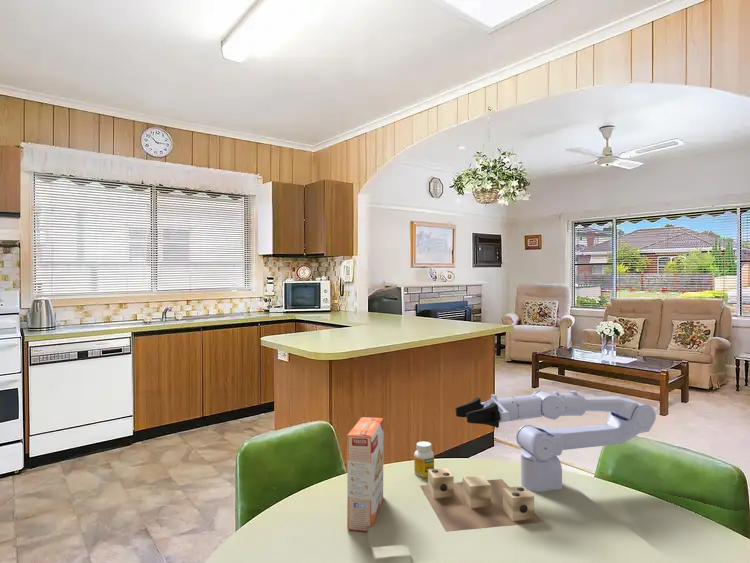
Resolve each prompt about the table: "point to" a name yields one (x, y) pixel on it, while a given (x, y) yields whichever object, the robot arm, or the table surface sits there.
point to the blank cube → (477, 492)
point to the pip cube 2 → (518, 503)
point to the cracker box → (364, 473)
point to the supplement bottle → (423, 459)
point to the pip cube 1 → (440, 483)
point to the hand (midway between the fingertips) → (461, 415)
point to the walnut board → (473, 509)
